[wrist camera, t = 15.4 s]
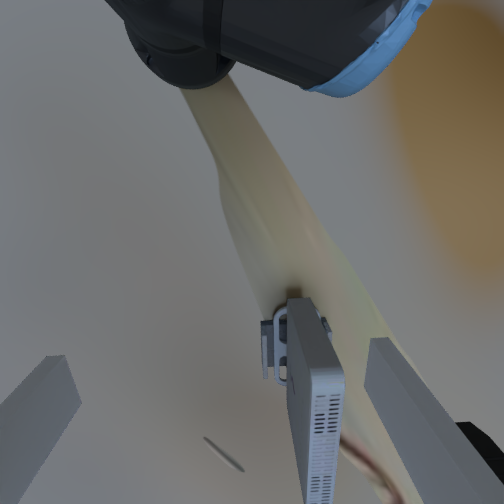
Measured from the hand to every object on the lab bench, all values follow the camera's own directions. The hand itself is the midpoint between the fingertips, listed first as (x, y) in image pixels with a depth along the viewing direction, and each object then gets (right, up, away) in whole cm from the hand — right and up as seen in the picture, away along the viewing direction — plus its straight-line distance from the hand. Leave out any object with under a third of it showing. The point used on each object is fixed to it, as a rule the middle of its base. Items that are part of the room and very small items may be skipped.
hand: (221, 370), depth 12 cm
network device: (+10, -13, +41) cm, 44 cm away
